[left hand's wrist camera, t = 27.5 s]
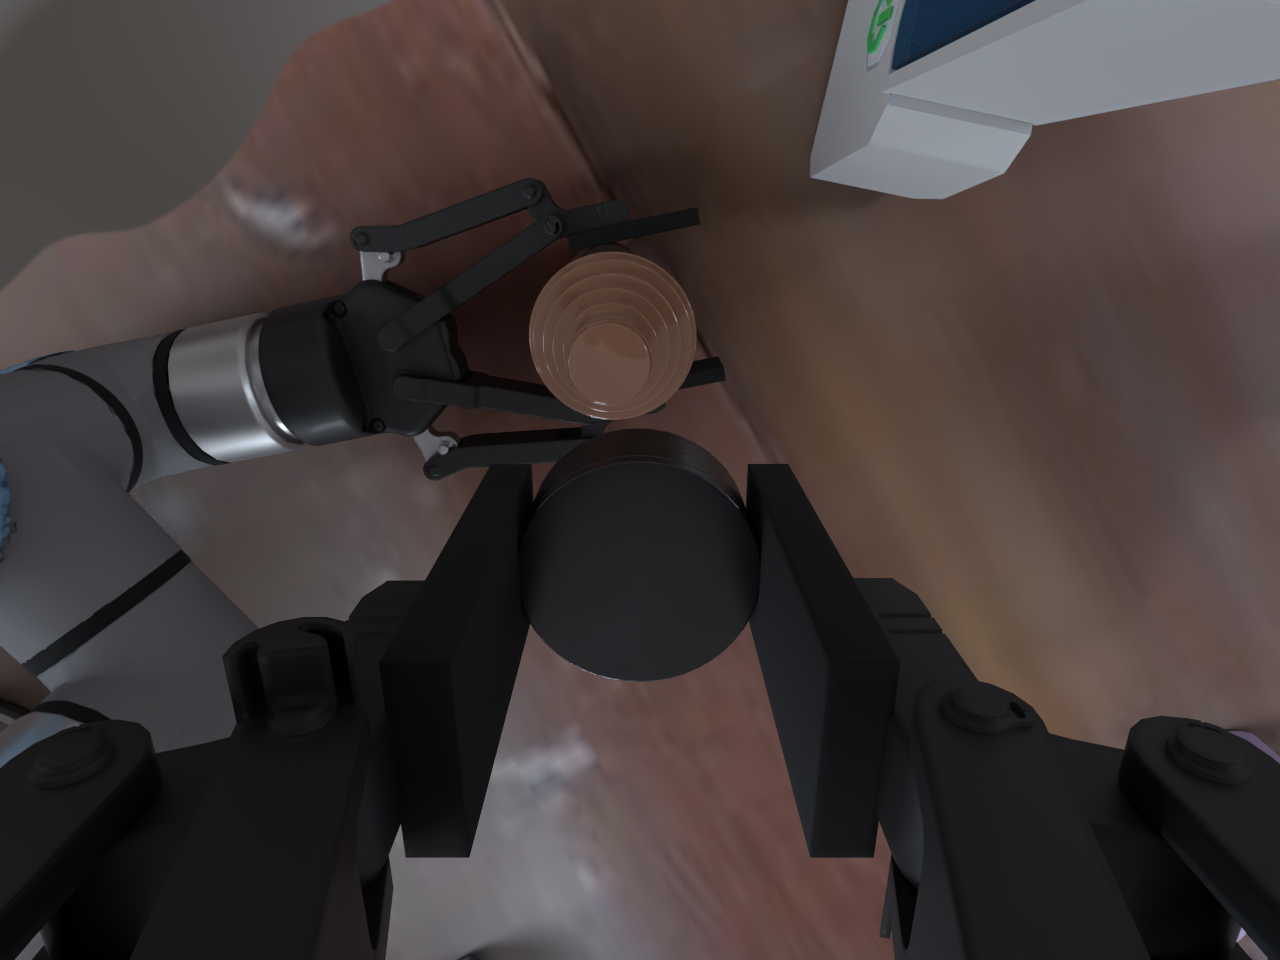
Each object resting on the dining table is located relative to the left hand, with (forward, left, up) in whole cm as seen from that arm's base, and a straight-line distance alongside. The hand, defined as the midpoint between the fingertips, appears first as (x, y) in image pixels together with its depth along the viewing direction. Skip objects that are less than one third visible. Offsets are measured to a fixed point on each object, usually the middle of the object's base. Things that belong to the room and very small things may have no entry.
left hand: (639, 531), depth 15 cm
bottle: (+1, -1, -33) cm, 33 cm away
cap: (0, 0, +2) cm, 2 cm away
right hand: (-4, 0, -27) cm, 27 cm away
